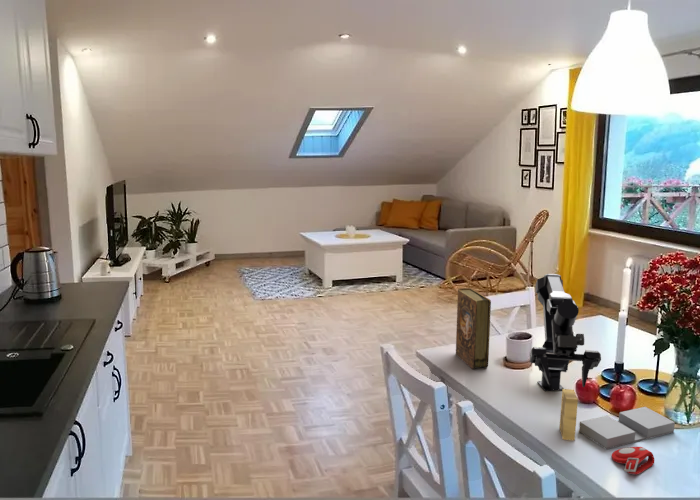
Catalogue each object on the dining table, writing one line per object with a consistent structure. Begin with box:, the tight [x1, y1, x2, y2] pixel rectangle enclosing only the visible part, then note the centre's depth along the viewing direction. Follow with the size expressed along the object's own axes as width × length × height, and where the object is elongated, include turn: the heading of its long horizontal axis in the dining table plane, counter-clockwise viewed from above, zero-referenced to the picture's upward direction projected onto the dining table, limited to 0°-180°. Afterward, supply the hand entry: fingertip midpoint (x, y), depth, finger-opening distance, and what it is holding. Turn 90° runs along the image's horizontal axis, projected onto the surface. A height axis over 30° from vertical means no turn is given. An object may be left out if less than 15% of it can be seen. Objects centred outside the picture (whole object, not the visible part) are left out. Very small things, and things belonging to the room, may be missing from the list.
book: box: [455, 287, 492, 370], centre depth 211 cm, size 16×6×25 cm, turn 14°
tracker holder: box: [611, 446, 655, 475], centre depth 147 cm, size 12×4×10 cm
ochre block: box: [559, 388, 579, 442], centre depth 161 cm, size 6×3×12 cm, turn 169°
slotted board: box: [578, 406, 676, 450], centre depth 163 cm, size 10×24×3 cm, turn 111°
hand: (566, 385), depth 165 cm, fingers open, 9 cm apart
